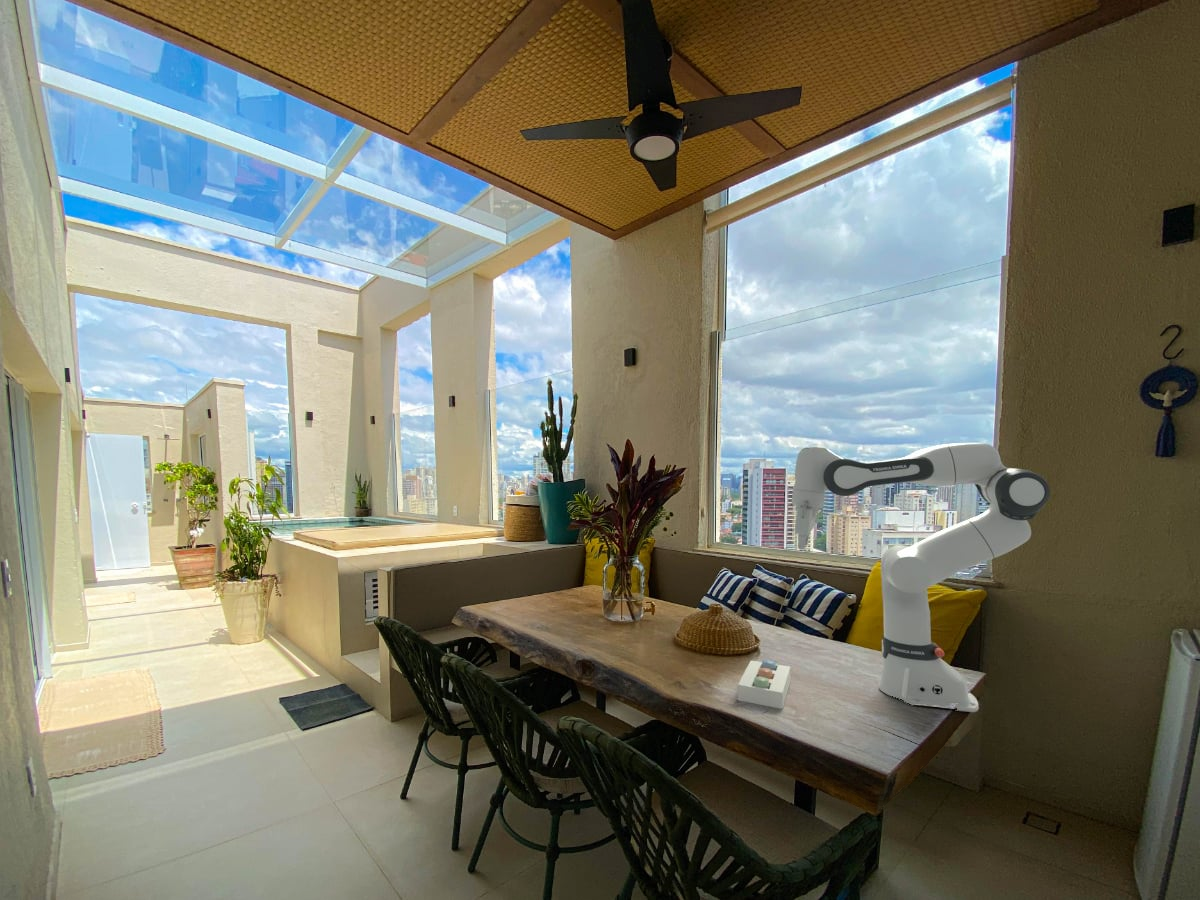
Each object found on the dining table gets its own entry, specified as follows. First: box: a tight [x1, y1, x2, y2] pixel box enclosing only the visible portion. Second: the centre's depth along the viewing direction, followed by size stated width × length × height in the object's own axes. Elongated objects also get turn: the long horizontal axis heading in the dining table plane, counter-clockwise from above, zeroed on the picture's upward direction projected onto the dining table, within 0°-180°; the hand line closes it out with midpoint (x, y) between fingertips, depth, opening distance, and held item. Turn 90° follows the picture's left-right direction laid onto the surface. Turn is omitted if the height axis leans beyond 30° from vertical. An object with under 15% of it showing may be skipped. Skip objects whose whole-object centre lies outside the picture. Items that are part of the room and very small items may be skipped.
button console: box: [737, 660, 792, 710], centre depth 139 cm, size 11×20×4 cm, turn 154°
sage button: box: [754, 677, 769, 689], centre depth 133 cm, size 4×4×3 cm
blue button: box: [761, 659, 777, 671], centre depth 145 cm, size 4×4×3 cm
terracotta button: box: [758, 668, 772, 679], centre depth 139 cm, size 4×4×3 cm
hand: (802, 546), depth 151 cm, fingers open, 8 cm apart
